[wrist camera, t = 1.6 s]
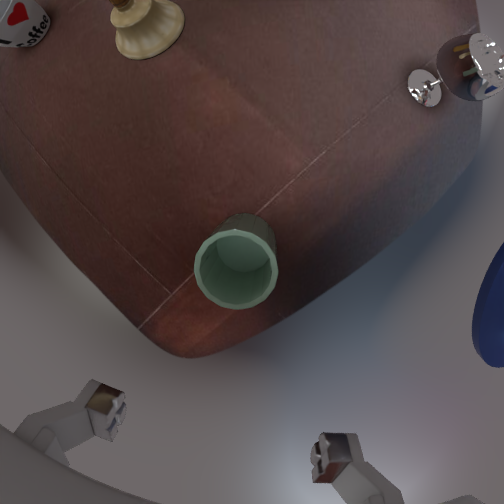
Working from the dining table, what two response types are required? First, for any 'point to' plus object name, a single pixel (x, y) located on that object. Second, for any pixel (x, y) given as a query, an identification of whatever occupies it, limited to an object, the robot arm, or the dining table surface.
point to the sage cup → (238, 262)
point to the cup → (22, 23)
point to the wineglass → (461, 71)
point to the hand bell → (146, 26)
